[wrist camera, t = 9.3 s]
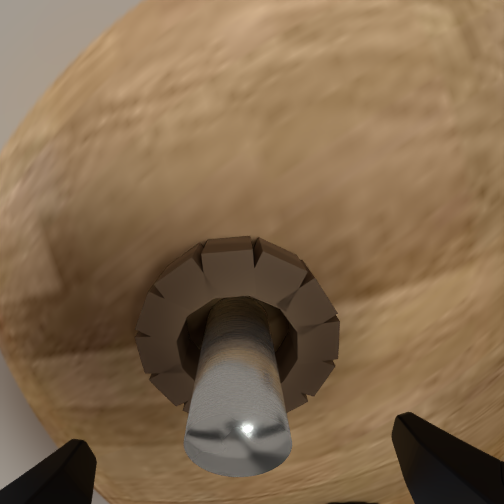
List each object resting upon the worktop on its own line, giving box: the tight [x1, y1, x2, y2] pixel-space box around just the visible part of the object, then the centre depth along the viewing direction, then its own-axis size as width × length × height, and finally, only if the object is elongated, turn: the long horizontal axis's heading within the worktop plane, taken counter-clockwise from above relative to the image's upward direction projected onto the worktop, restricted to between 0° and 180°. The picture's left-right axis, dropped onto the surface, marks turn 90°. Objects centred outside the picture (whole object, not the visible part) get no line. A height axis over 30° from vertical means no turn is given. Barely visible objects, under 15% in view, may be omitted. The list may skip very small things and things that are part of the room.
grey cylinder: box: [184, 296, 292, 477], centre depth 11 cm, size 3×3×8 cm
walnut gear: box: [135, 236, 340, 413], centre depth 14 cm, size 9×9×3 cm
